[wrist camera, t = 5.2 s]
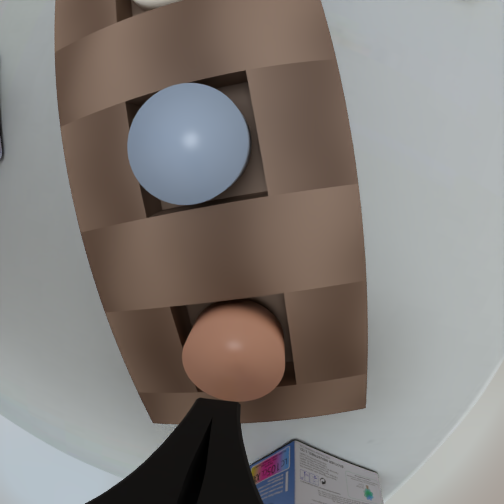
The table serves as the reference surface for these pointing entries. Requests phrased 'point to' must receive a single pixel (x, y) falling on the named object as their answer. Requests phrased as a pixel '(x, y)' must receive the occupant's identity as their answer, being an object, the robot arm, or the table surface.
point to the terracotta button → (235, 351)
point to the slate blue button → (188, 144)
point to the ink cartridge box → (313, 478)
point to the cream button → (153, 3)
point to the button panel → (226, 203)
